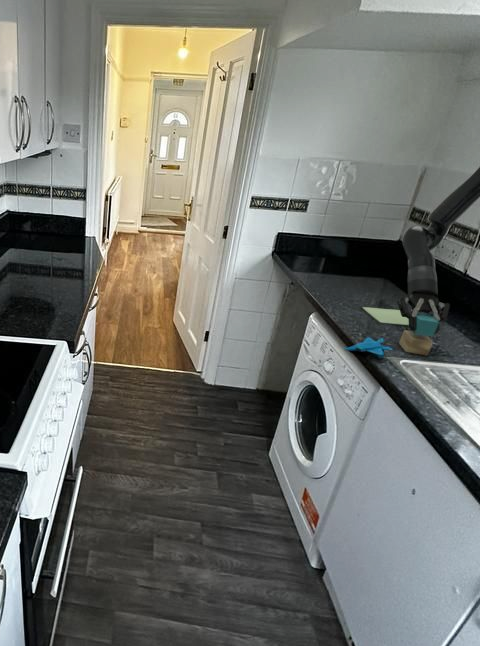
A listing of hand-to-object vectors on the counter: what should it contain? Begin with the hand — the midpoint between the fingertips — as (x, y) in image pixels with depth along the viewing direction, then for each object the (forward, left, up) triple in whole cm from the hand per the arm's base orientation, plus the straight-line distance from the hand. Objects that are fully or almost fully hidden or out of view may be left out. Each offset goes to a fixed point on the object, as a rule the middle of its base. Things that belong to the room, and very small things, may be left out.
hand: (424, 331), depth 128 cm
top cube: (0, -2, -1) cm, 2 cm away
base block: (0, -2, -7) cm, 8 cm away
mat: (+2, -29, -7) cm, 30 cm away
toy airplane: (+14, +9, -8) cm, 19 cm away
